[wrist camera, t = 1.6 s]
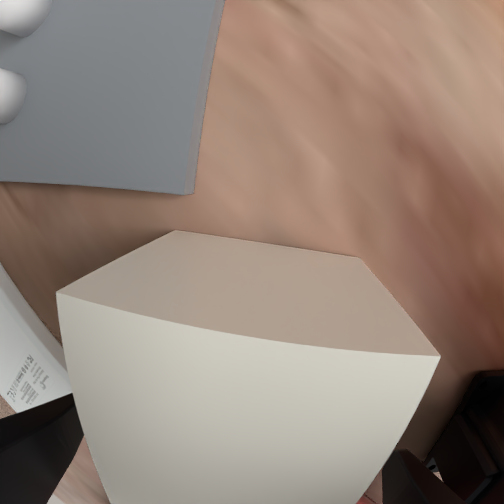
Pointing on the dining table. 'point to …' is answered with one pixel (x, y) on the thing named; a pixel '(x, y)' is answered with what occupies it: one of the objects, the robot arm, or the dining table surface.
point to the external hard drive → (27, 353)
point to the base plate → (105, 91)
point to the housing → (239, 372)
